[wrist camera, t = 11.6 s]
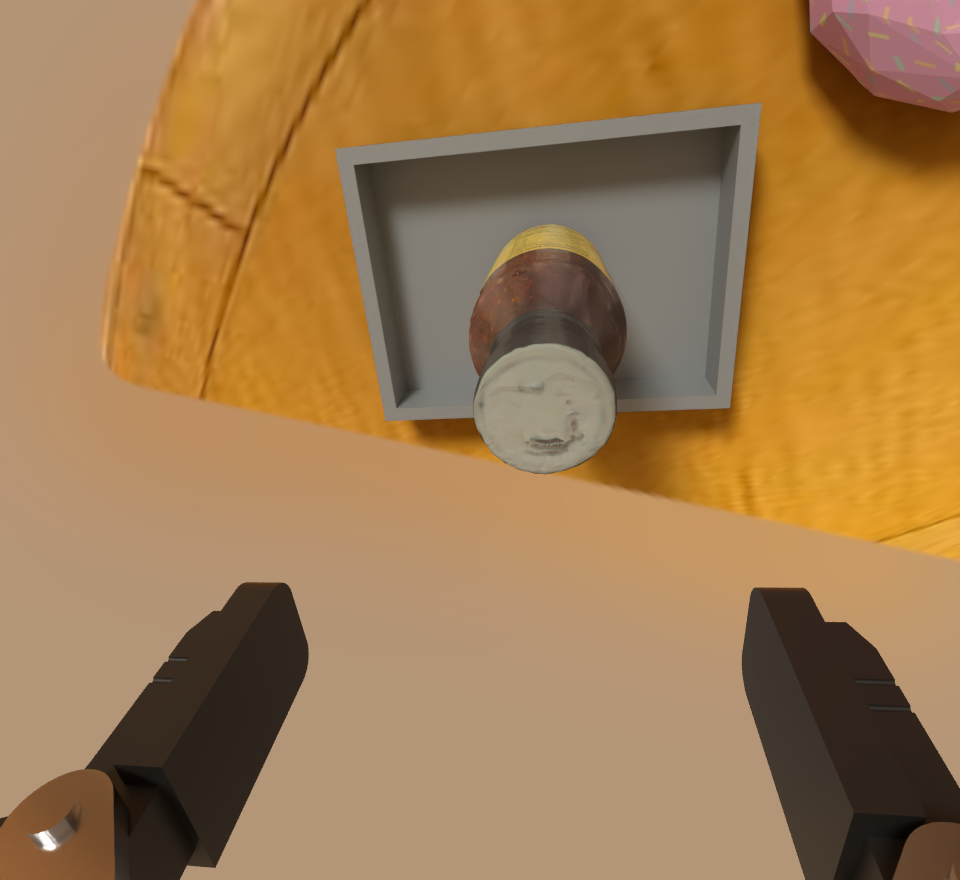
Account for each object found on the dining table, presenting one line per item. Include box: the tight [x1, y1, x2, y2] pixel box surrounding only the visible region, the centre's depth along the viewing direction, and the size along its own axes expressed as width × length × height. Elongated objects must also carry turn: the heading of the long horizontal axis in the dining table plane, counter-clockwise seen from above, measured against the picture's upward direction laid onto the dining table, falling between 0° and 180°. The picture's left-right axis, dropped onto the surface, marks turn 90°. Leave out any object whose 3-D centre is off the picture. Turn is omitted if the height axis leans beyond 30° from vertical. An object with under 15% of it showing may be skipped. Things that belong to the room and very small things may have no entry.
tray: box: [335, 103, 762, 421], centre depth 33 cm, size 20×15×4 cm
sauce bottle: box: [469, 224, 627, 474], centre depth 25 cm, size 7×6×20 cm
